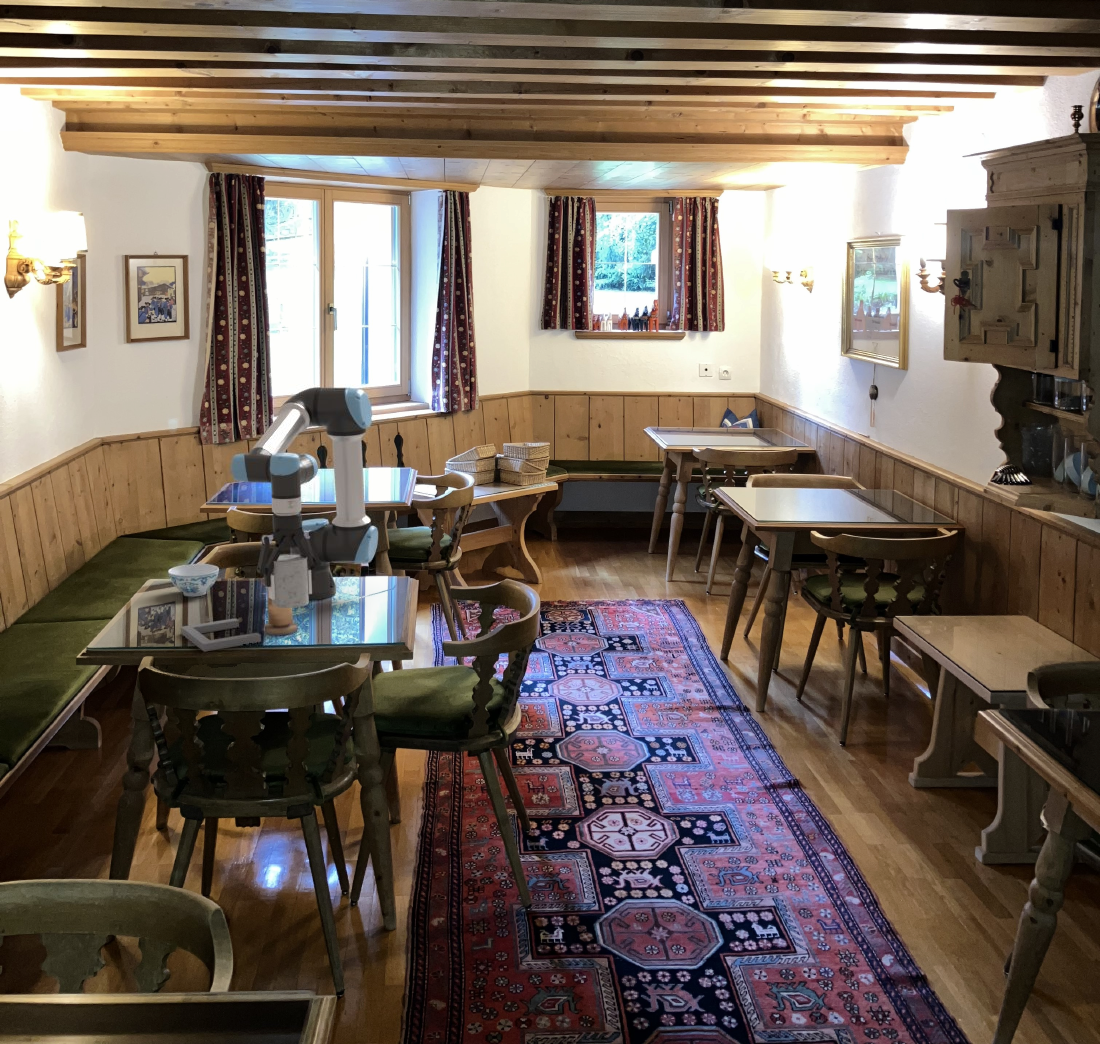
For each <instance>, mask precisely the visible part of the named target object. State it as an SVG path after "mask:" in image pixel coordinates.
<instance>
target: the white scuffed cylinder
mask: <svg viewBox="0 0 1100 1044" xmlns="http://www.w3.org/2000/svg"><path fill="white" fill-rule="evenodd" d="M271 574H273V575H274V584H275V599H274V600H272V605H273V606H275V607H279V608H292V609H294V608H295V609H296V608H300V607H305V606H307V605H308V604H309V602H310V601H309V597H308V570H307V557H306V558H304V557H302V556H301V555H300V554H291V553H283V554H282V553H281V554H280V556H279V558H278V560H277V562H276V561H274V569H273V571H272V573H271Z"/></svg>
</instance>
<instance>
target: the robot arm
mask: <svg viewBox="0 0 1100 1044" xmlns="http://www.w3.org/2000/svg"><path fill="white" fill-rule="evenodd" d="M372 409H373V408H372V403H371V401H370V398H369V396H368V394H367V393H366V392H365V391H364V390H363V389H361V388H353V387H318V386H316V387H310V388H307V389H305V390H304V389H303V390H302V391H300V392H298V393H296V394H295V395H292V396H291V397H290V398H288V399H287V400H286V401H284V403H283V404H282V405H281V406H280V407H279V410H278V413H277V417H276V418H275V419H274V421H273V422H272V423H271V424H270V426H269V427H268V428H267V430H266V431H265V432H264V433H263V435H261V437H260V438H259V440H258V441H257V442H256V443H255V444H254V445H253V447H252V448H251V450H250V451H249V452H248V453H245V452H244V453H238V454H235V455H234V456H233V457H232V460H231V463H230V470H231V471H230V472H231V476H232V478H233V480H235V481H236V482H242V483H243V482H244V483H247V484H248V483H249V484H250V483H258V484H259V483H265V484H266V483H267V484H270V486H271V487H270V488H271V489H270V490H271V512H272V513H273V514H272V516H271V517H272V533H271V534H270V535H264V534H263V535H261V537H260V538H261V539H260V540H261V548H260V552H259V558H258V562H257V567H256V571H257V573H258V574H260V575H263V577H264V579H265V586H266V587H265V586H264V587H265V588H267V587H268V592H269V598H270V599H272V600H274V599H275V584H274V575H273V574H271V573H272V571H273V569H274V561H276V562H277V560H278V558H279V556H280V555H281V554H282V552H283V551H284V550H285V549H289V548H290V554H300V555H301V556H302V557H304V558H306V557H307V570H308V597H309V600H310V601H311V600H322V599H328V598H330V597H333V596H336V594H337V586H336V583H335V580H334V577H333V574H332V572H331V571H332V570H331V569H330V563H337V564H353V565H359V564H361V565H362V564H363V565H365V564H368V563H371V562H372V560H373V558H374V556H375V554H376V550H377V547H378V541H379V530H378V528H377V527H376V526H374V525H372V522H371V518H370V517H369V516H368V515H367V514H366V506H365V505H366V503H365V488H364V487H365V484H364V467H363V450H362V449H363V446H362V438H363V437H364V436H365V434H366V433H367V429H368V428H370V427H371V425H372V423H373V422H372V421H373V420H372V417H373V410H372ZM312 427H313V428H314V427H319V428H320V427H321V428H326V429H325V430H326V435H327V437H329V438H330V439H331V440H332V441H331V443H332V455H333V456H332V459H333V472H334V473H333V475H334V491H335V494H334V495H335V503H336V504H335V507H336V516H335V517H334V518H333V519H332V521H331V523H332V524H330V522H329V519H327V518H313V519H306V520H303V514H302V512H301V511H302V490H301V489H302V488H301V487H302V486H301V485H304V484H307V483H309V482H311V481H312V480H313V479H315V477H316V476H317V474H318V471H319V466H318V463H317V460H316V458H315V457H314V456H312V455H310V454H307V453H300V454H299V453H298V454H297V453H295V452H286V451H287V449H288V448H289V447H290V446H291V444H292V443H293V442H294V440H295V439H296V438H297V436H298V435H299V433H302V432H304V431H306V430H307V429H308V428H312ZM272 541H274V542H275V543H274V544H273V545H274V546H273V550H272V551H271V554H270V556H269V553H270V544H271V543H272ZM268 556H269V558H268Z"/></svg>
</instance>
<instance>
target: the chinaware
mask: <svg viewBox="0 0 1100 1044" xmlns="http://www.w3.org/2000/svg"><path fill="white" fill-rule="evenodd" d="M219 570H220V569H219V567H218V566H216V565H213V564H206V563H192V564H183V565H178V566H174V567H172V568H170V569H168V571H167V573H168V577H169V579H170V581H171V583H172V585H173V586H174V587H175V588H176V589H177V590H179V591H180V592H183V596H184V597H193V598H194V597H200V596H204V595H206V594H207V591H208V590H209V589H210V588H211V587H212V586H214V584H215V582H216V581H217V578H218V576H219Z"/></svg>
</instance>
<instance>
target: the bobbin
mask: <svg viewBox="0 0 1100 1044" xmlns="http://www.w3.org/2000/svg"><path fill="white" fill-rule="evenodd" d="M261 585H262V586H264V587H265V588H266V592H267V593H266V595H267V596H266V597H267V615H268V616H267V618H268V619H267V620H268V621H267V623H265V624H264V626H263V627H264V628H263V629H264V630H263V632H264V633H265V634H266V635H270V636H287V635H292V634H294V633H296V632H297V631H298V623H297V622H294V619H293V617H294V616H293V608H279V607H275V606H273V605H272V599H270V598H269V592H268V587H266V586H265V579H264V576H263V577H262V578H261Z"/></svg>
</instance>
